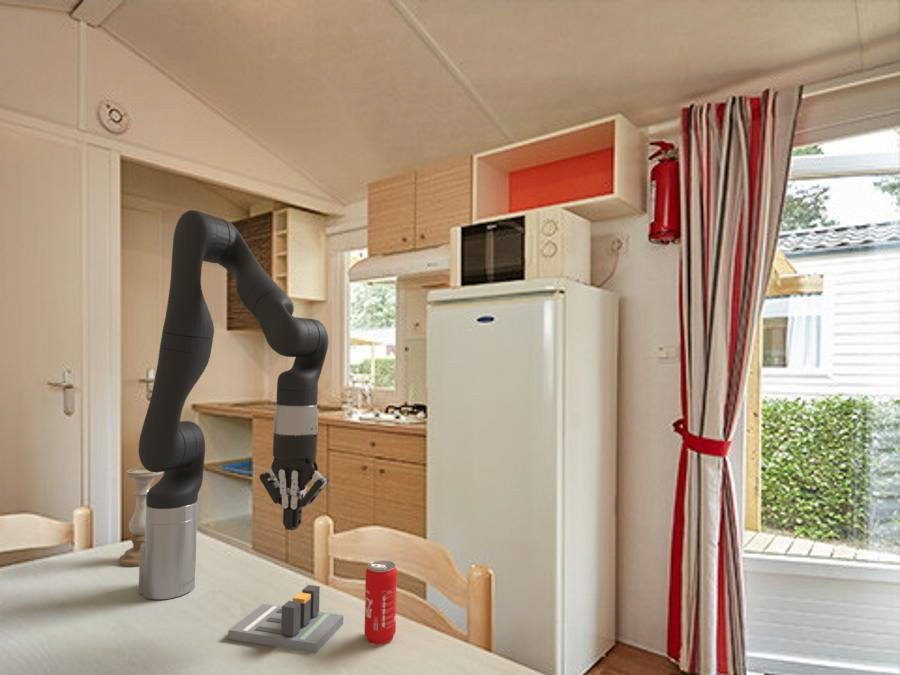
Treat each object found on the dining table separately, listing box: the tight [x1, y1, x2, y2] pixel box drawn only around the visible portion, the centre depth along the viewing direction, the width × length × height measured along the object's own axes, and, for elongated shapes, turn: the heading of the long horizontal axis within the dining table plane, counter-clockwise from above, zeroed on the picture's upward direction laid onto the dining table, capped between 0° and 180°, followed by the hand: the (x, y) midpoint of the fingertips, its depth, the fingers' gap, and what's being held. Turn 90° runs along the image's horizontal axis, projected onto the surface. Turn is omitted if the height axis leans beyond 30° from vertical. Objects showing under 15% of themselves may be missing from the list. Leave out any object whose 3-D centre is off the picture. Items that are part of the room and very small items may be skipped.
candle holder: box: [118, 466, 164, 567], centre depth 126 cm, size 9×9×20 cm
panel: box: [227, 603, 344, 654], centre depth 94 cm, size 16×10×2 cm, turn 76°
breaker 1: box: [281, 600, 301, 636], centre depth 90 cm, size 2×2×4 cm
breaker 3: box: [301, 584, 321, 618], centre depth 97 cm, size 2×2×4 cm
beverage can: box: [364, 560, 398, 646], centre depth 92 cm, size 5×5×12 cm
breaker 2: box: [292, 592, 311, 627], centre depth 93 cm, size 2×2×4 cm
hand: (292, 528), depth 97 cm, fingers closed
